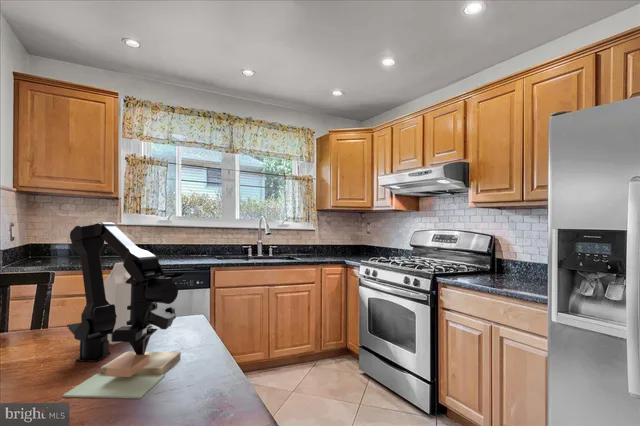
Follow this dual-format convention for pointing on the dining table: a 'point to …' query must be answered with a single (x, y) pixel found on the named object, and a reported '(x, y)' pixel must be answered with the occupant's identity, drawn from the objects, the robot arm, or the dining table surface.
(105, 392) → the mat
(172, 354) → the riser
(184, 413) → the dining table surface
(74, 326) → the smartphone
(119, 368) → the tile
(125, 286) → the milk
